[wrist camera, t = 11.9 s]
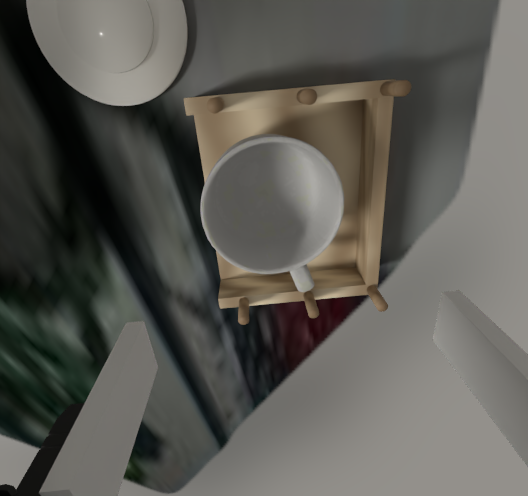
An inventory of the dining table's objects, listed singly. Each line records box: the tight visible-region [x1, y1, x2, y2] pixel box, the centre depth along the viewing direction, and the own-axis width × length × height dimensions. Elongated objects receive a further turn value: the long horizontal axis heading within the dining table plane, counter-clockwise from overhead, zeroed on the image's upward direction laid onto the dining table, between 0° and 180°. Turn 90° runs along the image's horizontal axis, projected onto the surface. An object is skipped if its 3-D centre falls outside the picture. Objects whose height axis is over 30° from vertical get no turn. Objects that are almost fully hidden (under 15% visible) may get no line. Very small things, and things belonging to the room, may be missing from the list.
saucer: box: [26, 0, 188, 106], centre depth 26 cm, size 12×12×2 cm
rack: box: [184, 79, 411, 325], centre depth 29 cm, size 16×19×8 cm
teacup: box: [200, 134, 344, 292], centre depth 28 cm, size 14×11×8 cm
